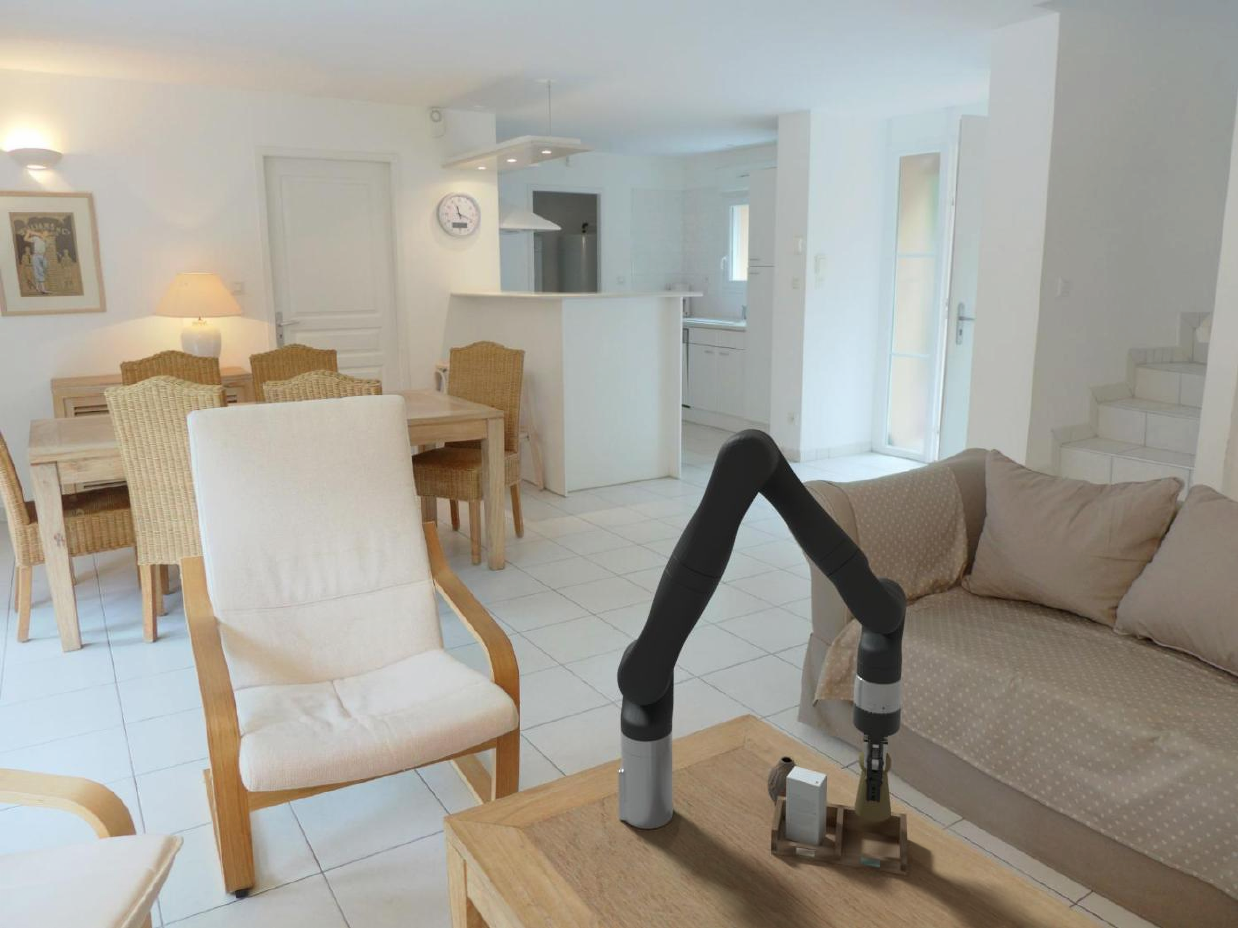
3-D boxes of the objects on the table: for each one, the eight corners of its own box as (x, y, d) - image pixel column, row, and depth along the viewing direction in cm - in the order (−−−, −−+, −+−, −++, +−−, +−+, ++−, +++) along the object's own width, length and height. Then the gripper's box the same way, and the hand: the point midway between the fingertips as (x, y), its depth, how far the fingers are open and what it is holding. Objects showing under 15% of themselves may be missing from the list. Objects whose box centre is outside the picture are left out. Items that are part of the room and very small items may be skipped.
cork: (871, 825, 148) (874, 765, 146) (846, 806, 153) (848, 748, 151) (899, 814, 151) (902, 755, 148) (873, 796, 156) (876, 738, 154)
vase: (804, 814, 164) (806, 771, 162) (766, 811, 165) (767, 768, 163) (804, 793, 170) (806, 751, 168) (767, 789, 172) (768, 748, 170)
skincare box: (826, 836, 157) (828, 774, 154) (818, 849, 153) (820, 786, 151) (793, 825, 160) (794, 764, 157) (784, 838, 156) (785, 776, 154)
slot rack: (770, 853, 153) (771, 829, 152) (777, 818, 163) (777, 795, 162) (906, 875, 147) (907, 850, 146) (904, 837, 157) (906, 814, 156)
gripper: (902, 724, 140) (897, 822, 144) (900, 682, 153) (895, 773, 157) (852, 718, 142) (848, 815, 146) (854, 678, 155) (851, 768, 159)
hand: (873, 793), depth 151 cm, fingers closed on cork, 3 cm apart
